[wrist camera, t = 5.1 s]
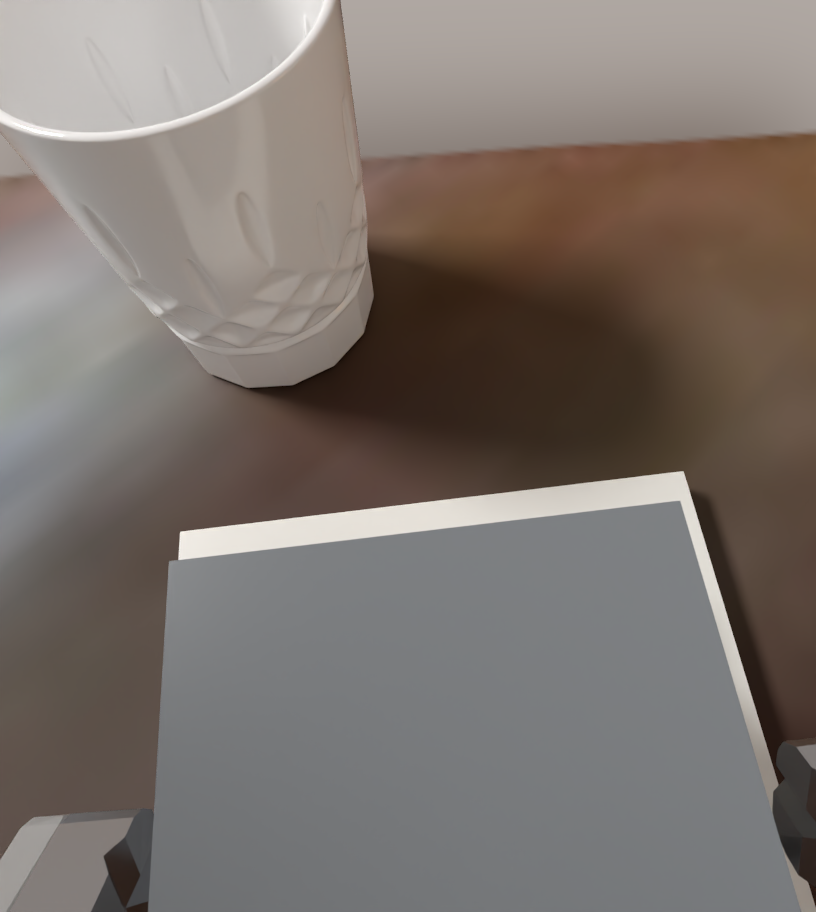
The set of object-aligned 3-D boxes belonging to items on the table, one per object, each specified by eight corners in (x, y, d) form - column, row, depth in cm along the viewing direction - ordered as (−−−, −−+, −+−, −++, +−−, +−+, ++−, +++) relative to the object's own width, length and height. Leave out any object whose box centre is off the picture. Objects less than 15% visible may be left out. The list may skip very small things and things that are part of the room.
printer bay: (170, 1075, 14) (81, 1177, 11) (193, 541, 19) (138, 501, 16) (828, 1016, 13) (943, 1103, 10) (672, 484, 18) (716, 430, 15)
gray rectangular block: (346, 848, 14) (140, 1034, 5) (337, 655, 16) (170, 543, 7) (590, 823, 14) (819, 972, 5) (554, 631, 16) (675, 483, 7)
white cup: (361, 422, 20) (273, 155, 11) (132, 389, 21) (-119, 123, 12) (411, 230, 23) (375, -104, 14) (208, 211, 24) (54, -109, 15)
